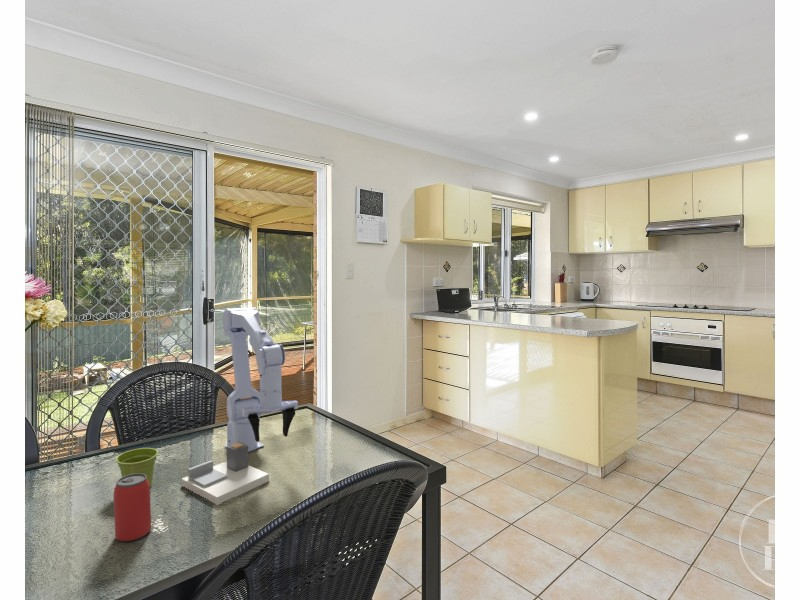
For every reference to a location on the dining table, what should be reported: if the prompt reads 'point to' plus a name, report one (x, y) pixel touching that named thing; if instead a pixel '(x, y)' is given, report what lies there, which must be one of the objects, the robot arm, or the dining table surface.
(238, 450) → the grey rectangular block
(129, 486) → the beer can
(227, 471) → the socket board
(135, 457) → the plant pot
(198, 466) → the shutter
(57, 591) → the dining table surface
